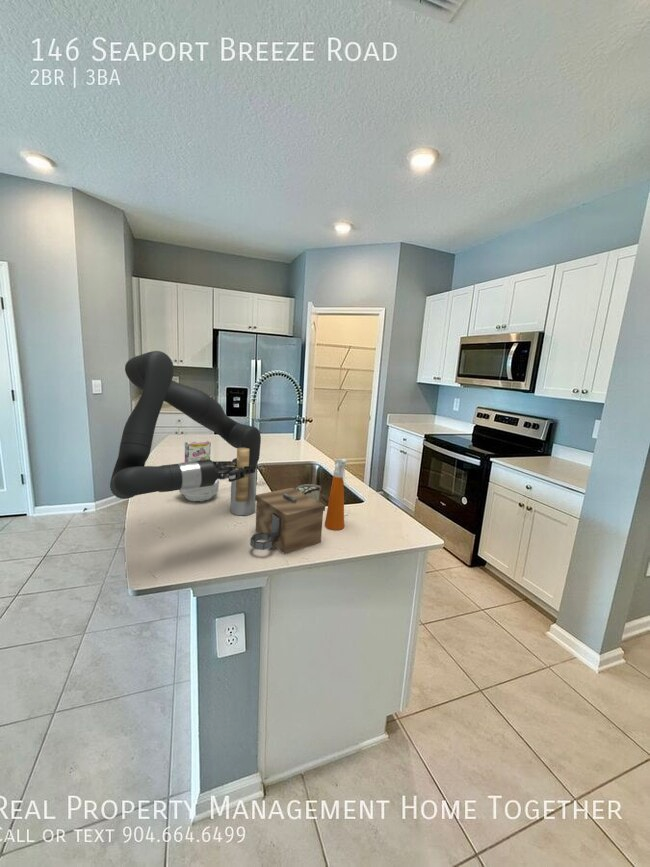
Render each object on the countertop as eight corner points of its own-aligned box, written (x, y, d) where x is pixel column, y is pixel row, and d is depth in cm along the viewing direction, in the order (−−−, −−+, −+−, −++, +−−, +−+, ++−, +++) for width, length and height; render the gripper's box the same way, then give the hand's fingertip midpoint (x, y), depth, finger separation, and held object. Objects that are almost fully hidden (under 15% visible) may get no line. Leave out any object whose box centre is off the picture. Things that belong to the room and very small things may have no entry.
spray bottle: (330, 536, 120) (336, 461, 115) (322, 522, 130) (327, 452, 126) (350, 534, 122) (356, 461, 117) (340, 521, 132) (346, 453, 128)
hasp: (247, 542, 107) (247, 517, 106) (271, 535, 112) (272, 511, 111) (257, 551, 102) (258, 526, 101) (282, 544, 108) (283, 519, 106)
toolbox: (253, 530, 120) (255, 491, 118) (290, 520, 130) (292, 484, 127) (284, 555, 106) (286, 511, 104) (322, 542, 116) (325, 501, 113)
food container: (308, 504, 146) (309, 481, 144) (319, 509, 142) (321, 485, 140) (287, 513, 136) (288, 488, 134) (298, 518, 133) (300, 492, 131)
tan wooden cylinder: (233, 498, 109) (235, 448, 106) (244, 496, 111) (246, 447, 108) (238, 502, 106) (240, 450, 103) (249, 500, 108) (251, 449, 105)
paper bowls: (226, 496, 149) (226, 478, 147) (198, 507, 135) (198, 488, 134) (200, 488, 155) (200, 471, 154) (170, 498, 142) (170, 479, 141)
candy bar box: (187, 477, 168) (187, 444, 165) (184, 474, 172) (184, 441, 169) (210, 474, 175) (211, 442, 172) (206, 471, 179) (207, 440, 176)
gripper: (205, 468, 92) (263, 461, 103) (186, 455, 102) (241, 450, 113) (204, 495, 93) (262, 485, 104) (186, 480, 104) (240, 472, 115)
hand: (251, 467), depth 109 cm, fingers closed on tan wooden cylinder, 3 cm apart
